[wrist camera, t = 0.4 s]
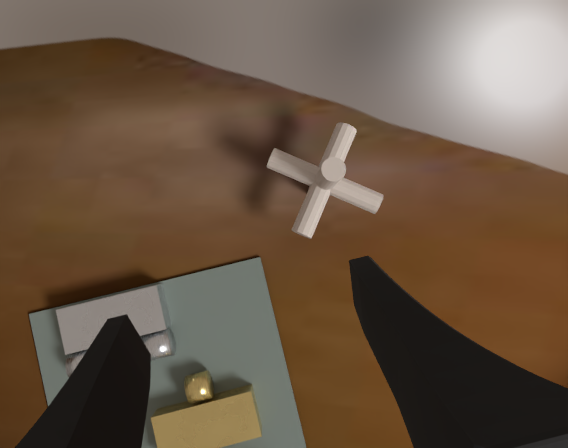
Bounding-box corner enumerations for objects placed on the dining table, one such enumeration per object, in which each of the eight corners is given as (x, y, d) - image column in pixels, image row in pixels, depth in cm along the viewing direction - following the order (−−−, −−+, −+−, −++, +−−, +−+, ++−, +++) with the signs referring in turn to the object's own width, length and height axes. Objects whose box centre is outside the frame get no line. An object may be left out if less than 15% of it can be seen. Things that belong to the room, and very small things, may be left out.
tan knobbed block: (166, 452, 38) (159, 465, 35) (150, 382, 38) (143, 390, 36) (262, 426, 38) (261, 438, 36) (245, 357, 38) (244, 364, 36)
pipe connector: (250, 216, 40) (243, 204, 30) (290, 123, 40) (297, 81, 30) (345, 257, 40) (370, 259, 30) (384, 163, 40) (421, 134, 30)
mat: (316, 487, 38) (316, 489, 38) (80, 552, 37) (79, 554, 37) (260, 256, 39) (260, 257, 39) (30, 313, 38) (28, 314, 38)
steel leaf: (81, 376, 38) (69, 384, 35) (66, 307, 38) (53, 310, 36) (177, 351, 38) (171, 358, 36) (162, 283, 39) (155, 285, 36)
